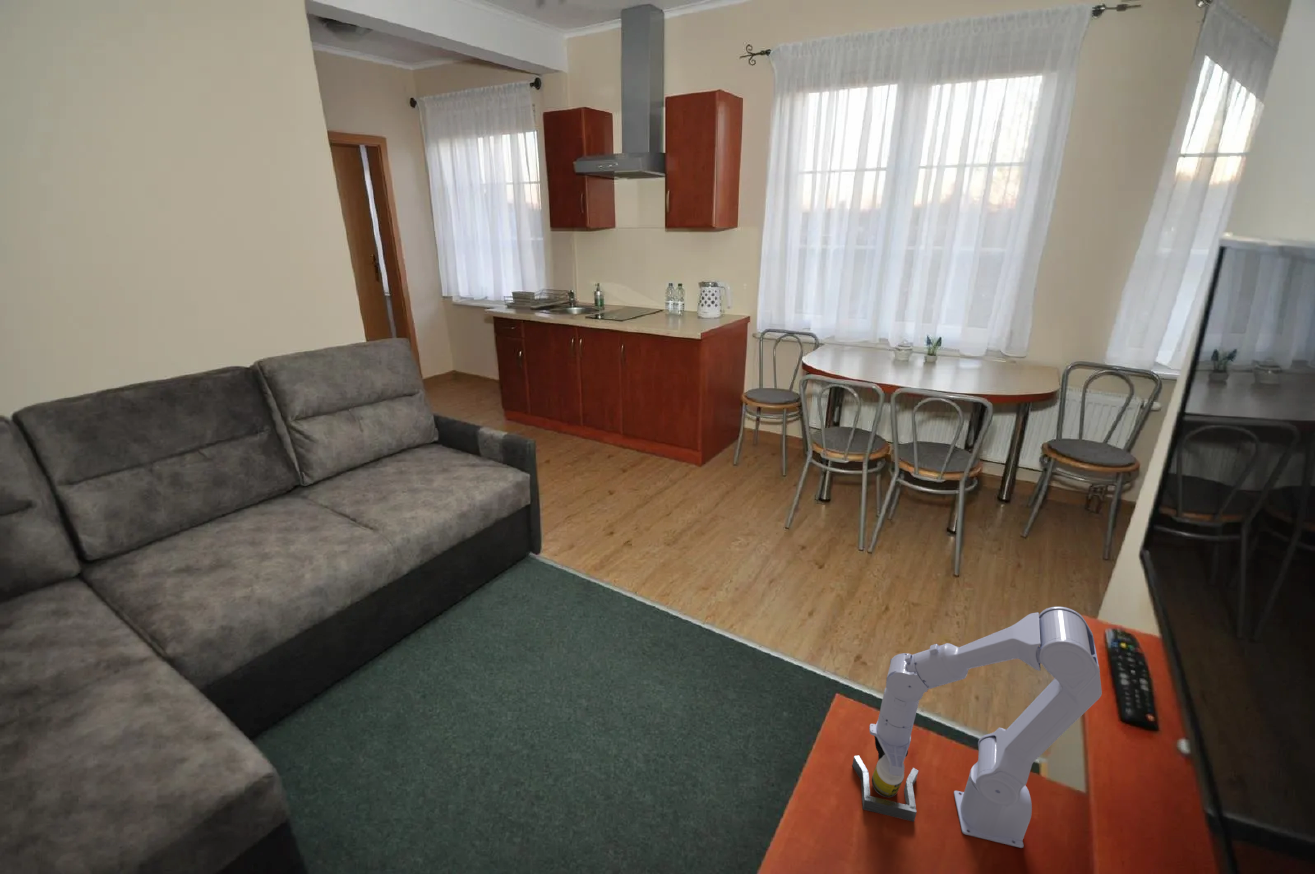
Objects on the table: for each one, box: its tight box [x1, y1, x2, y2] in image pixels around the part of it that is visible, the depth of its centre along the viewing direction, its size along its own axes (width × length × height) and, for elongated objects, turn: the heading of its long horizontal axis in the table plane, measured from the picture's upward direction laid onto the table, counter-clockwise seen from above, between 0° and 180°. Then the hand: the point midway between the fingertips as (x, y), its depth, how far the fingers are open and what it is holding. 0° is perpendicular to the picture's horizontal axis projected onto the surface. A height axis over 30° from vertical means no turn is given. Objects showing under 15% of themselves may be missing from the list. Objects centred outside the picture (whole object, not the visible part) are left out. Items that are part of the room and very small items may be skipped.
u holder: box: [851, 755, 919, 823], centre depth 107 cm, size 12×9×2 cm
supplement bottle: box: [871, 755, 905, 798], centre depth 105 cm, size 5×5×8 cm
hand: (884, 768), depth 110 cm, fingers closed, pressing on supplement bottle
